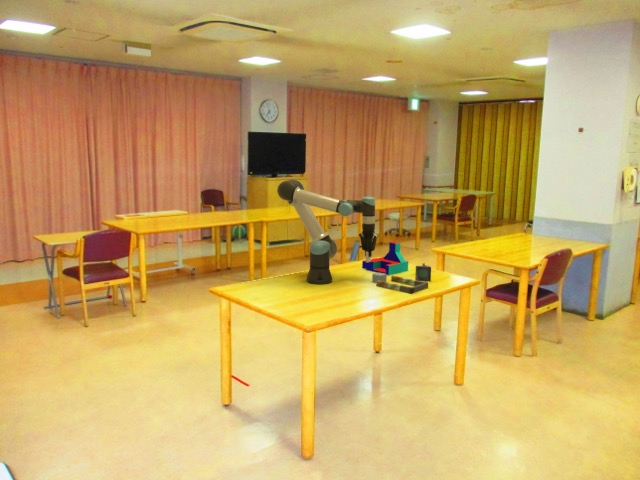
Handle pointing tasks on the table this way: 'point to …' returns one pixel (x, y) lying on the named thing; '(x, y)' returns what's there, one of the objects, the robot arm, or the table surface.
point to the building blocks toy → (388, 261)
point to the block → (379, 277)
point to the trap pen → (417, 287)
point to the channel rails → (395, 286)
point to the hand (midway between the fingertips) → (368, 261)
